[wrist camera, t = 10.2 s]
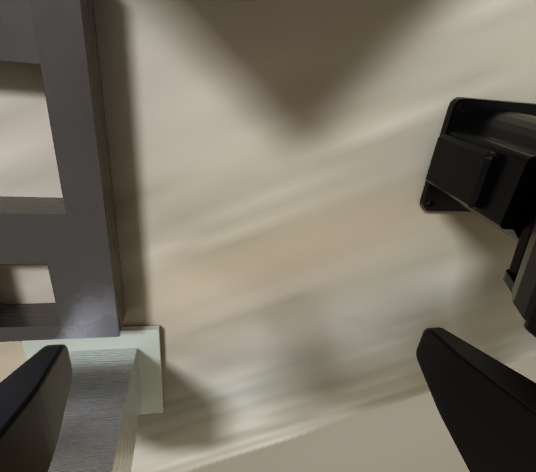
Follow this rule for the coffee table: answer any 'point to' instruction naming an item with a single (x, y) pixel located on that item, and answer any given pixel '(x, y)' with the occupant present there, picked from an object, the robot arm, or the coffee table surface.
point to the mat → (130, 337)
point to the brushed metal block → (100, 413)
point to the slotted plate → (64, 181)
